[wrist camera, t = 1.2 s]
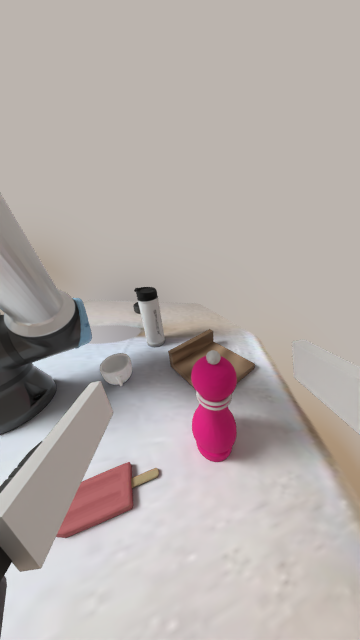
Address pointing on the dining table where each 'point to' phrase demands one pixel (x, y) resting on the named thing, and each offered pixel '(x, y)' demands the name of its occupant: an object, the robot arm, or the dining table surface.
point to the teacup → (116, 369)
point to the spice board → (198, 348)
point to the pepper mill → (214, 406)
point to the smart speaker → (136, 308)
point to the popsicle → (102, 498)
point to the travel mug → (150, 315)
